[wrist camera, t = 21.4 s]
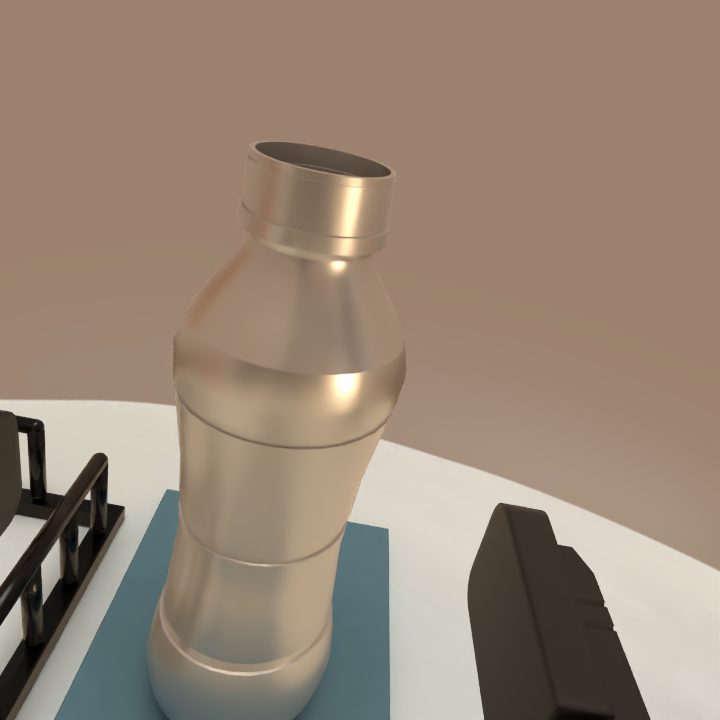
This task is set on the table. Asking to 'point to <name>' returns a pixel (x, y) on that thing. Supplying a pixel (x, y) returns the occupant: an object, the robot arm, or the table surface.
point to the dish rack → (76, 563)
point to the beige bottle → (275, 434)
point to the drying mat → (348, 646)
